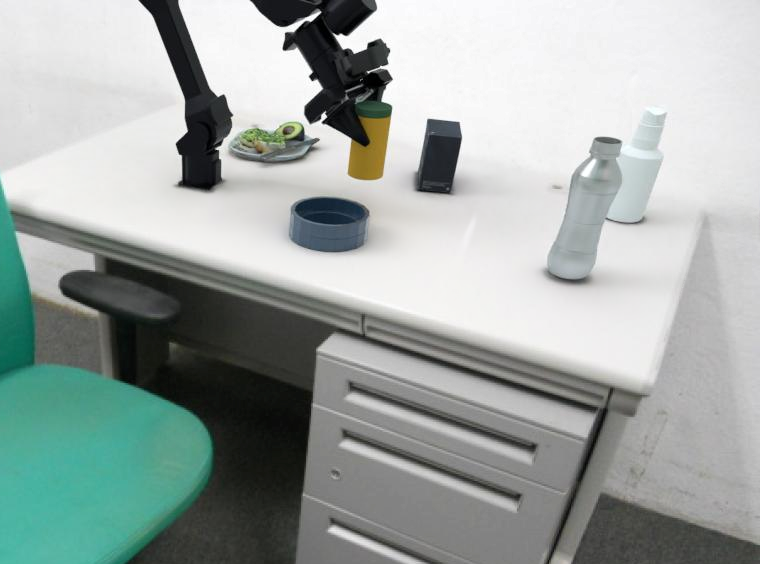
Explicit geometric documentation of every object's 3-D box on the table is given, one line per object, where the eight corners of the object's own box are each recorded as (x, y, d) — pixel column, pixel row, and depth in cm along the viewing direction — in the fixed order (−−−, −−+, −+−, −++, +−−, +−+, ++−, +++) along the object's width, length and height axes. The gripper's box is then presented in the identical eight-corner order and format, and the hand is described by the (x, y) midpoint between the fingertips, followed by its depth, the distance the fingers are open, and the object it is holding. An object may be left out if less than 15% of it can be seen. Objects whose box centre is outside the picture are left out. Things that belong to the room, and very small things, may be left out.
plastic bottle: (536, 266, 118) (572, 133, 106) (578, 265, 118) (619, 133, 107) (554, 285, 113) (595, 148, 101) (598, 284, 113) (644, 147, 101)
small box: (452, 194, 142) (464, 136, 136) (417, 191, 143) (426, 133, 137) (450, 175, 151) (461, 120, 144) (416, 172, 152) (425, 117, 145)
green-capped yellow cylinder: (343, 177, 126) (350, 107, 120) (353, 166, 131) (361, 99, 124) (377, 182, 124) (387, 112, 118) (386, 171, 129) (396, 103, 122)
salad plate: (302, 172, 151) (304, 148, 148) (216, 161, 155) (216, 138, 152) (322, 143, 166) (324, 121, 163) (243, 134, 170) (244, 113, 167)
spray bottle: (640, 211, 137) (676, 106, 126) (643, 225, 131) (682, 117, 121) (598, 206, 138) (631, 102, 128) (600, 220, 133) (635, 112, 122)
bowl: (277, 247, 122) (279, 217, 119) (303, 220, 131) (305, 191, 128) (353, 262, 118) (357, 231, 115) (374, 233, 127) (378, 203, 124)
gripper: (327, 30, 110) (385, 124, 111) (390, 13, 122) (441, 98, 123) (279, 79, 119) (333, 166, 120) (342, 59, 131) (390, 138, 132)
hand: (377, 140), depth 123 cm, fingers closed on green-capped yellow cylinder, 6 cm apart
